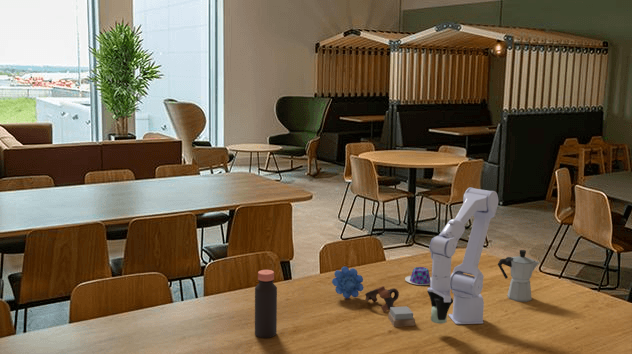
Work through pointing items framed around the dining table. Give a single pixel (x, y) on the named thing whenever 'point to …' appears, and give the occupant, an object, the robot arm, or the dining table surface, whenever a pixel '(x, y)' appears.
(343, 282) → the blue flower
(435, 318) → the green cylinder
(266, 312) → the bottle
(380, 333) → the dining table surface
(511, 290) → the coffee maker
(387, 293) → the pottery mug
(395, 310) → the tower top
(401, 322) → the tower base
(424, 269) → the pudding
